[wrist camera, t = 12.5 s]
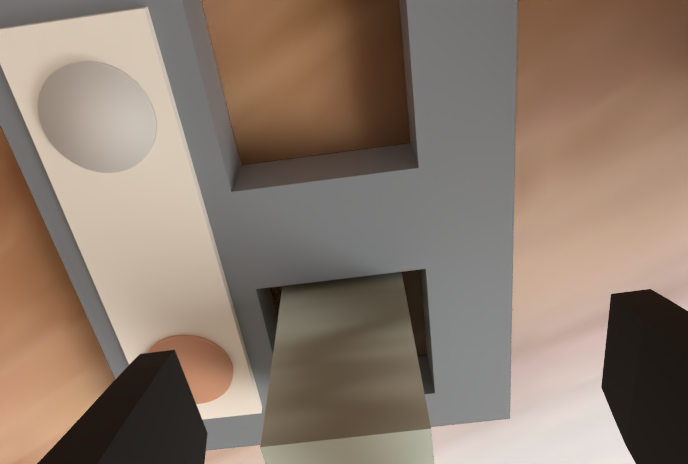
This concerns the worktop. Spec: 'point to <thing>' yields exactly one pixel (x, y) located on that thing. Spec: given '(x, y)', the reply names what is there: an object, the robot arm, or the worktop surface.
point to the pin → (346, 377)
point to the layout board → (264, 197)
